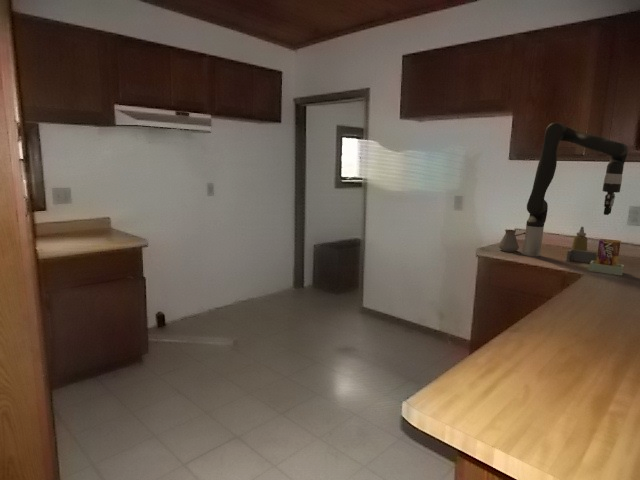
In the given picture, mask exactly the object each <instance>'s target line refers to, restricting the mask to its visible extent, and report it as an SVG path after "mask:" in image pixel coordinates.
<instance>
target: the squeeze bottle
mask: <svg viewBox="0 0 640 480" xmlns="http://www.w3.org/2000/svg"><path fill="white" fill-rule="evenodd" d="M570 249H573V250H581V251H588V237H587V233H586V232H585V228H584V226H581V227H580V228H579V231H578V232H576V235H575V236H574V237H573V241H572V244H571V248H570Z"/></svg>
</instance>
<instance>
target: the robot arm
mask: <svg viewBox="0 0 640 480" xmlns="http://www.w3.org/2000/svg"><path fill="white" fill-rule="evenodd" d="M544 131H545V132H544V139H543V145H542V150H541V153H540V156H539V160H538V164H537V167H536V171H535V176H534V180H533V184H532V188H531V189H532V190H531V192H530V196H529V198H528V200H527V203H526V211H527V212H528V213H529V217H528V218H527V220H526V224H525V231H524V232H525V234H524V238H523V243H522V251H521V255H524V256H527V257H541V253H542V245H543V237H544V228H545V223H546V221H547V217H548V207H549V204H548V202H547V200H545V196H546V192H547V190H548V188H549V187H550V185H551V183H552V181H553V179H554V176H555V173H556V169H557V165H558V164H557V163H558V159H557V158H558V157H557V156H558V155H557V154H558V153H557V152H558V146H559V144H560V141H561V142H568V143H572V144H576V145H578V146H581V147H583V148H586V149H589V150H591V151H594V152H599V153H602V154H605V155H607V156H609V157H610V159H609V162H608V163H607V166H606V169H605V170H606V171H605V176H604V179H603V186H602V189H601V190H602V192H605V194H606V193H607V194H606V195H605V196H604V204H603V207H604V209H603V215H604V216H608V215H609V214H611V213H612V207H614V206H613V205H614V202H615V199H616V196H615V195H616V194H617V193H620V192H621V189H622V188H621V187H622V181H623V171H624V167H625V162H626V159H627V156H628V153H629V152H628V151H629V149H628V145H626V144H625V143H624V142H623V143H622V142H618V141H613V140H609V139H607V138H605V137H601V136H597V135H594V134H589V133H586V132H585V133H584V132H580V131H577V130H575V129H572V128H570V127H568V126H566V125H565V124H564V123H561V122H552V123H550V124H548V126H546V129H545V130H544Z"/></svg>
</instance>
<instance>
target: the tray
mask: <svg viewBox="0 0 640 480" xmlns="http://www.w3.org/2000/svg"><path fill="white" fill-rule="evenodd" d="M624 265H625V264H620V263H618V265H617V267H616V266H609V265H602V264H596V261H593V260H592V261H591V262H590V263H589V267H588V271H589V272H593V273H601V274H608V275H613V274H614V276H622V275H623V271H624V268H625V267H624Z"/></svg>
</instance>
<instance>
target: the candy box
mask: <svg viewBox="0 0 640 480" xmlns="http://www.w3.org/2000/svg"><path fill="white" fill-rule="evenodd" d="M621 242H622V240H618V239H610V238H609V239H608V238H599V240H598V248H597V253H598V254H597V261H596V264H602V265H609V266H616V267H617V265H618V264H619V263H618V262H619V256H620V250H621V244H622V243H621Z"/></svg>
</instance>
